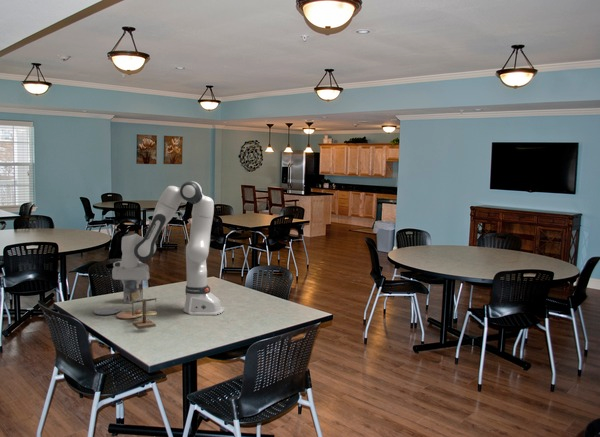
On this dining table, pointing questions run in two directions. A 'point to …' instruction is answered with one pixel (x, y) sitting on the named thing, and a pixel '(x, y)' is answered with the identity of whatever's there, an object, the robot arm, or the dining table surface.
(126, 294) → the coffee box
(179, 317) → the dining table surface
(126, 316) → the terracotta dish
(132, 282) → the block
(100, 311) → the grey dish
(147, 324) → the balance
